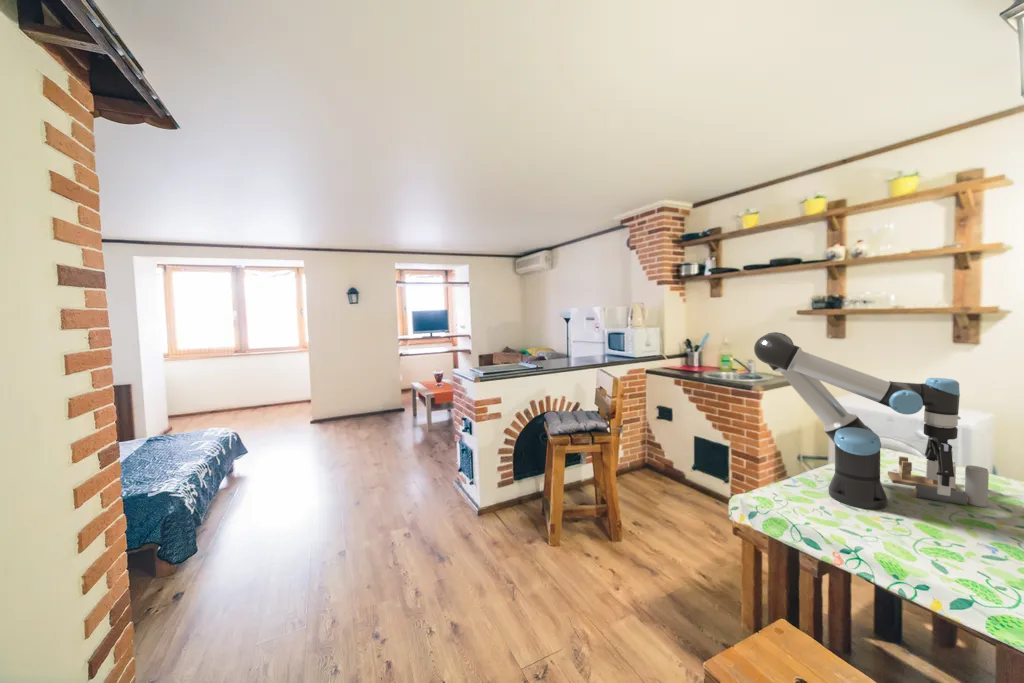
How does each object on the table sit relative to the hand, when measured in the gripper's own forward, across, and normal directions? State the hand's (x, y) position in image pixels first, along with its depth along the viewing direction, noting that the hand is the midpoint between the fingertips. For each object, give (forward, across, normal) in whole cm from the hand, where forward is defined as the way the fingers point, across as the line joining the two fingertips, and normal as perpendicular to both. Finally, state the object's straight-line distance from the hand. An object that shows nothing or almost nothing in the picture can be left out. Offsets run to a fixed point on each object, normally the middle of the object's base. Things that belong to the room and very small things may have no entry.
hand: (937, 486), depth 129 cm
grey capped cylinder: (+4, 0, -1) cm, 5 cm away
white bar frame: (+3, +14, -5) cm, 15 cm away
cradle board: (+4, +14, +1) cm, 15 cm away
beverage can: (+4, +1, -9) cm, 10 cm away
